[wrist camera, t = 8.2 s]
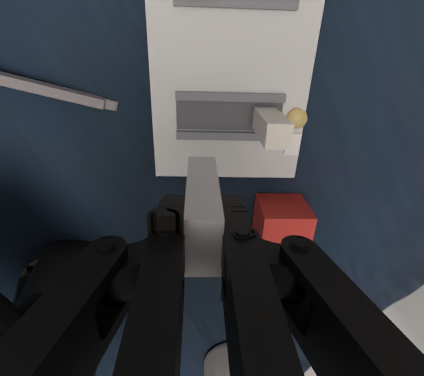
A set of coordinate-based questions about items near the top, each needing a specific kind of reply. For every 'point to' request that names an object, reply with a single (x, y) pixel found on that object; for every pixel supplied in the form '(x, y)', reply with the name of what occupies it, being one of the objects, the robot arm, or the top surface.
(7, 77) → the caliper
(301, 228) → the brick-red cube
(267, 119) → the block
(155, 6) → the panel
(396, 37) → the top surface
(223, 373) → the soap bottle
